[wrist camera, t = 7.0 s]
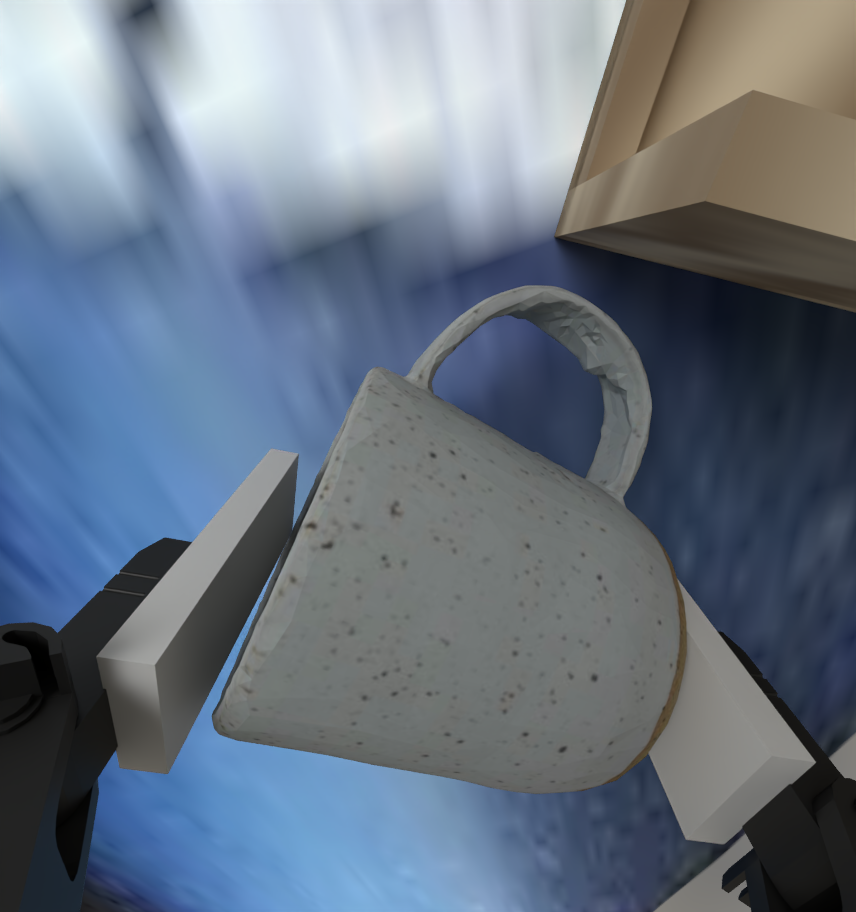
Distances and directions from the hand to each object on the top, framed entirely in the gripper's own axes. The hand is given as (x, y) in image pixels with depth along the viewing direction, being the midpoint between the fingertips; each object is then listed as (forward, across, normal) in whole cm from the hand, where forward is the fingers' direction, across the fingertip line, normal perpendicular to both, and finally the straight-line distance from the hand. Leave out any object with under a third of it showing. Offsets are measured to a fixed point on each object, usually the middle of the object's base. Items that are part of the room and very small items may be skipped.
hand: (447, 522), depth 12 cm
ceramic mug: (+1, 0, +2) cm, 2 cm away
